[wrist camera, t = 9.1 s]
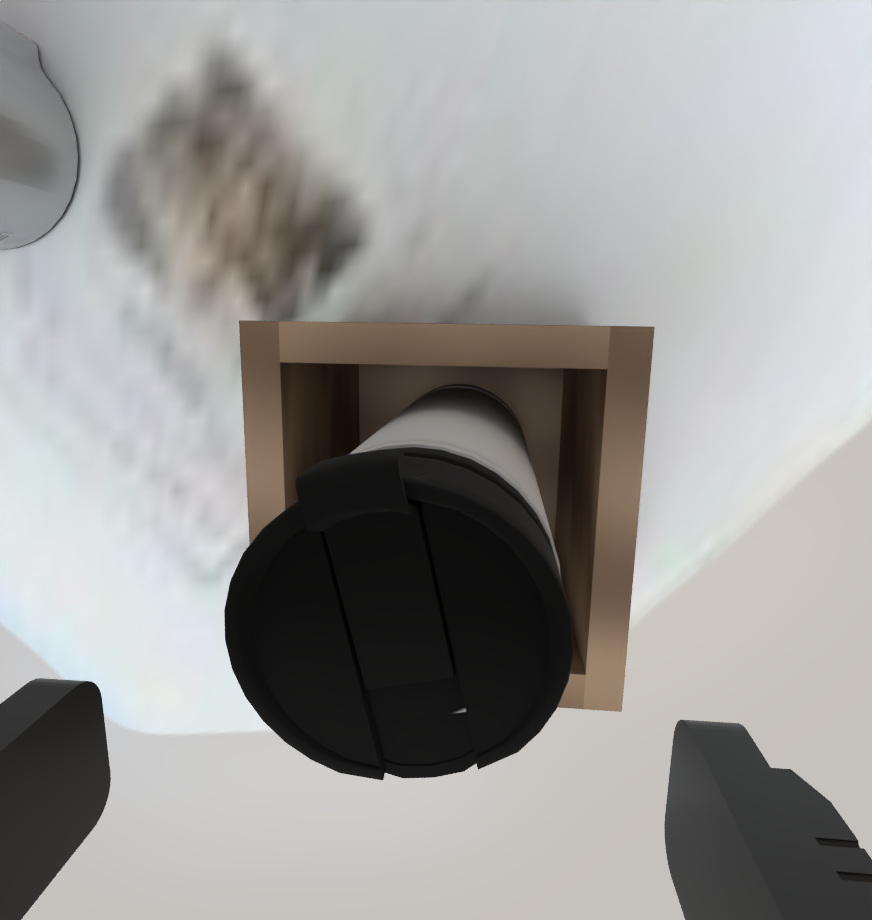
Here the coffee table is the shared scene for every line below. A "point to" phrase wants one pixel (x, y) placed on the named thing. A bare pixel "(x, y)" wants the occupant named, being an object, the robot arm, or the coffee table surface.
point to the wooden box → (526, 393)
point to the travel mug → (408, 599)
